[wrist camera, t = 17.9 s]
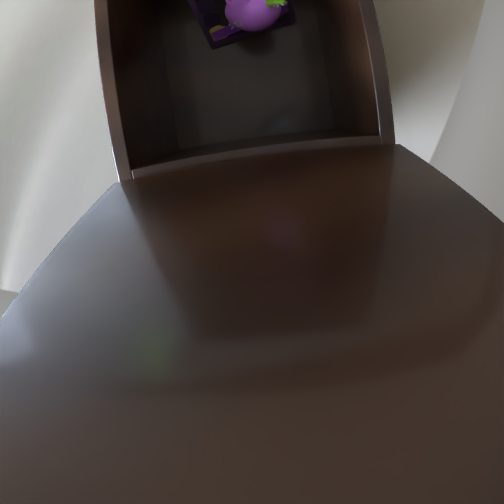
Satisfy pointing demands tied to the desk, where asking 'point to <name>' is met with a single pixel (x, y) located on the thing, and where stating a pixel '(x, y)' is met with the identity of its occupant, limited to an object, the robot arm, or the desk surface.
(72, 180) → the desk surface
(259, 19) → the game card
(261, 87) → the case
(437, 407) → the cover
